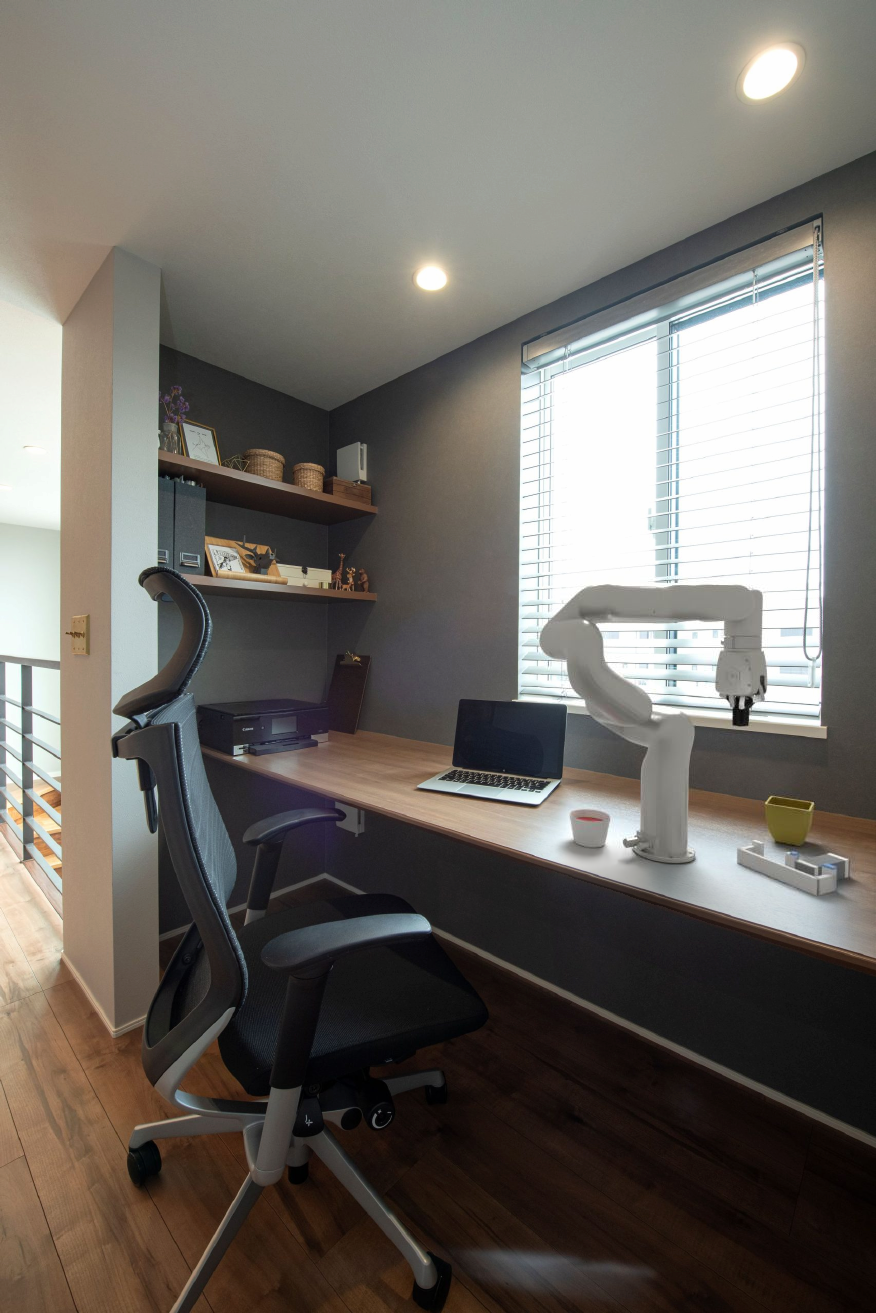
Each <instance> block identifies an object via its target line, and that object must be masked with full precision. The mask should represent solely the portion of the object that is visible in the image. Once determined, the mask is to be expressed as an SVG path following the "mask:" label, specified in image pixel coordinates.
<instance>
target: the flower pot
mask: <svg viewBox="0 0 876 1313" xmlns="http://www.w3.org/2000/svg"><path fill="white" fill-rule="evenodd" d="M764 807H765V808H764V810H765V817H766V824H767V829H768V831H769V833H770V835H771V837H772V839H773V840H774V841H775V842H777V843H783V844H788V845H791V846H793V845H794V846H797V847H801V846H803V844H804V842H805V841H806V839H807V837H808V834H809V831H810V829H811V827H812V823H813V817H814V816H813V815H814V810H815V809H814V808H815V803H814V802H812V801H807V800H802V799H801V800H799V799H793V798H788V797H787V798H786V797H781V796H774V795H770V797H768V798H767V800H766V801H765V803H764Z"/></svg>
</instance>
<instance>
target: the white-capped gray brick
mask: <svg viewBox="0 0 876 1313" xmlns="http://www.w3.org/2000/svg"><path fill="white" fill-rule="evenodd" d="M824 863H827V864H830V865H833V866H836V867H837V881H838V880H842V879H847V878H850V875H851V872H850V871H851V869H850V868H851V859H850V858H847V857H845V856H841V855H838V854H836V853H833V852H829V853H828V852H827V853H826V854H821V855H818V856H813V857H809V858H805V859H799V860H797V861H795V869H796V870H799V871H801V872H804V873H806V874H809V875H811V876H814V877H817V876H821V875H822V864H824Z"/></svg>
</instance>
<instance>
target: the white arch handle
mask: <svg viewBox="0 0 876 1313" xmlns="http://www.w3.org/2000/svg"><path fill="white" fill-rule="evenodd" d="M784 856H785V857H784V864H783V863H780V862H778V861H776V860H773V859H771V858H767V857H765V843H764V842H762V841H759V840H757V839H754V840H752V845H747V846H742V847H737V848H736V863H737V864H739V865H742V866H744V867H747V868H749V869H752V870H754V871H756V872H759V873H761V874H764V875H765V876H768V877H771V878H773V879H776V880H778V881H780V882H783V883H785V884H787V885H790V886H792V887H795V888H797V889H799V890H802V891H804V892H807V893H809V894H811V895H813V896H815V897H818V896H822V895H826V894H828V893H832V892H836V891H837V890H838V888H837V886H838V884H837V883H838V880H837V867H836V866H833V865H830V864H827V863H824V864H822V875H821V876H817V877H814V876H811V875H809V874H806V873H804V872H801V871H799V870H796V869H795V861H797V860H800V859H799V858H800V857H799V856H800V855H799V852H797V851H787V852H785V853H784Z"/></svg>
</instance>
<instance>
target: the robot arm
mask: <svg viewBox="0 0 876 1313" xmlns="http://www.w3.org/2000/svg"><path fill="white" fill-rule="evenodd" d="M763 597H764V594H763V593H762V591H761V590H759V589H757V588H756V589H755V588H748V587H747V586H744V585H742V584H734V583H733V584H732V583H731V584H729V583H679V582H677V583H675V582H673V583H672V582H671V583H670V582H669V583H665V582H664V583H662V582H661V583H660V582H657V583H655V582H654V583H653V582H649V583H648V582H630V581H629V582H627V581H626V582H623V581H622V582H621V581H611V582H605V583H600V584H593V585H589V586H586V587H584V588H581V590H579V591H578V592H577V593H576V594H575V595H574V596H572V598H570V599H569V601H568V602H567V603H565V605H563V606H562V608H560V610H558V611H557V612H556V613H555V615H553V616H552V617H551V618H550V619H549V620H548V621H547V622H546V624H545V625H544V626H543V628H542V629H541V631H540V633H539V638H538V639H539V647H540V649H541V651H542V652H543V654H545V656H547V657H549V658H551V659H554V660H561V661H562V660H563V661H566V671H567V677H568V680H569V684H570V686H571V689H572V690H573V691H574V692H575V693H576V695H577V696H579V697H580V698H581V699H583V700H584V705H585V708H586V711H587V712H588V714H589V715H590V717H592V718H593V719H594V720H595V721H596V722H598V723H600V724H601V725H602V726H604V727H605V728H608V729H609V730H610V731H612V732H613V733H615V734H616V735H618V736H620V737H621V738H623V739H625V740H626V741H629V742H631V743H634V744H636V745H640V746H642V747H645V748H646V747H647V751H646V754H645V755H644V758H643V761H642V763H641V769H640V820H639V822H640V824H639V825H640V828H639V829H638V830H636V835H634V837H626V838H623V840H622V844H623V847H624V848H626V849H629V848H632V850H633V851H634V852H635V853H636V854H637V855H639V856H641V857H643V858H646V859H648V860H651V861H655V862H659V863H668V864H684V863H685V864H686V863H689V862H691V861H693V860H695V858H696V849H694V848H693V847H692V846H691V845H689V844H688V838H689V836H688V835H689V834H688V828H689V825H688V824H689V821H688V820H689V778H690V777H689V775H690V774H689V772H690V769H689V768H690V760H691V754H692V748H693V745H694V742H695V741H694V740H695V726H694V722H693V721H692V719H691V718H690V717H689V716H688V715H687V714H686V713H685V712H683V711H681V710H679V709H677V708H673V707H668V706H664V705H654V704H653V701H652V699H651V697H650V696H649V694H648V693H647V692H646V691H645V690H644V689H643V688H641V687H639V686H638V685H637V684H635V683H633V682H632V681H631V680H628V679H627V678H626V677H624V676H623V675H621V674H620V673H618V672H617V671H616V670H614V669H613V668H612V667H611V666H609V665H608V664H607V662H606V658H605V654H604V652H605V651H604V638H603V634H602V632H601V630H600V628H599V627H598V626H597V624H673V623H674V624H675V623H685V622H694V621H695V622H696V621H699V622H703V623H713V622H714V623H715V622H716V623H718V622H723V639H721V640H720V644H721V646H723V648H722V649H723V650H720V651H719V653H718V654H719V655H718V658H717V662H716V663H717V664H716V671H715V680H714V681H715V682H714V683H715V684H714V688H715V691H716V692H717V693H718V694H719V695H718V696H719V697H720V698H722V699H724V700H726V701H727V702H728V703H729V707H730V708H731V709H732V711H731V712H732V715H731V716H732V717H731V718H732V720H731V721H732V726H733V727H740V728H741V727H748V726H749V725H750V723H749V722H750V709H753V706H754V705H755V704H756V703H761V702H763V703H764V702H765V700H766V698H765V695H766V694H767V690H768V671H767V670H768V669H767V660H766V657H765V656H766V655H765V651H763V650H762V648H763V645H762V643H763V641H762V640H763V606H764V604H763V603H764V598H763Z"/></svg>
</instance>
